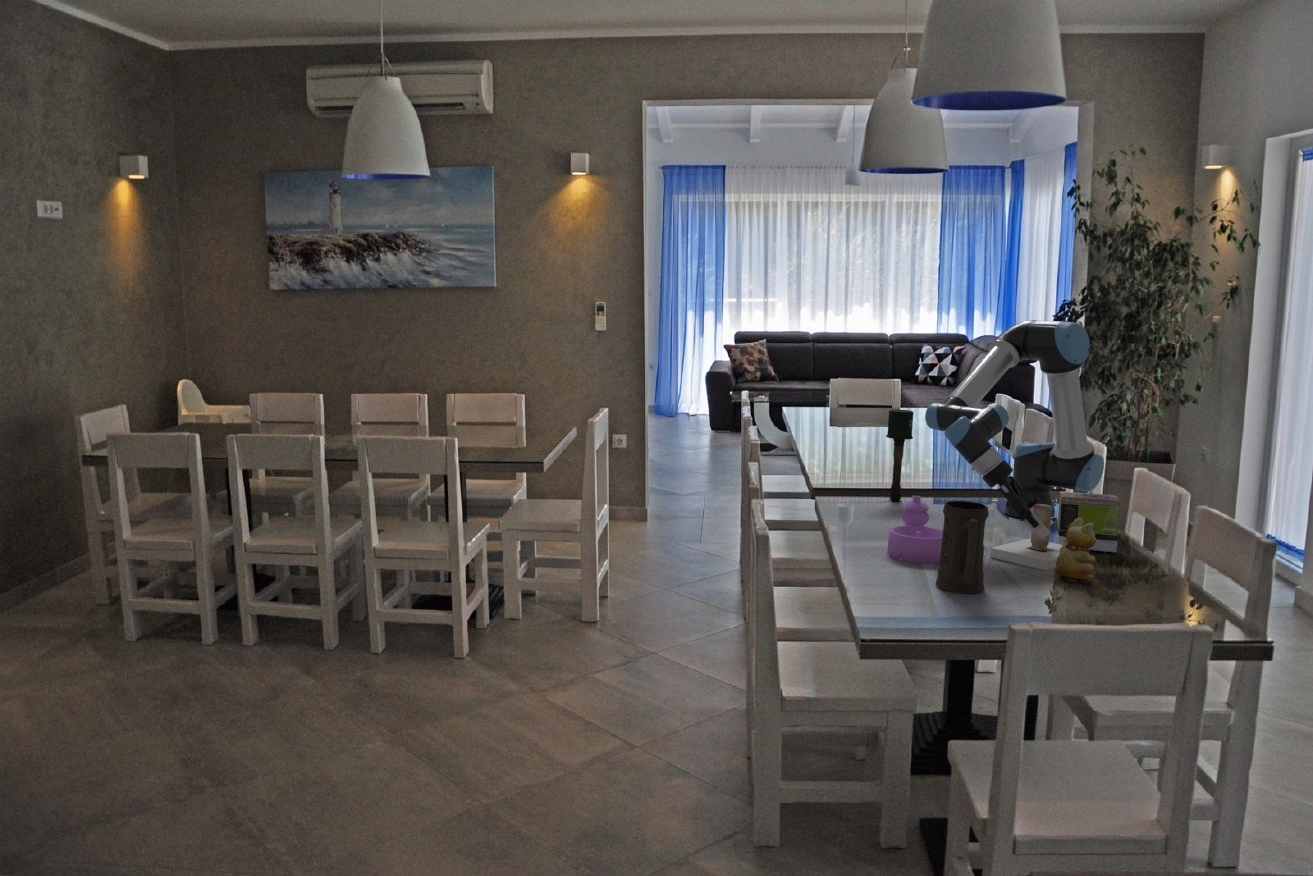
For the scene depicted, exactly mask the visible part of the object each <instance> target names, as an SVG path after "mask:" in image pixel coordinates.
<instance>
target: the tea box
mask: <svg viewBox="0 0 1313 876" xmlns="http://www.w3.org/2000/svg"><path fill="white" fill-rule="evenodd" d="M1057 512H1058V513H1057V525H1056V544H1061V545H1063V544H1064V542H1065V540H1066V538H1067V537H1066V534H1067V531H1068V528H1069V525H1070V524H1071V523H1072V522H1074V520H1075V519H1077V518H1082V519H1083V526H1084V525H1086V524H1088V523H1093V524H1094V528H1093V530H1092V531H1094V533H1095V538H1096V543H1095V544H1094V546H1093V547H1091V548H1089V549H1096V550H1106V551H1113V552H1118V551H1117V550H1118V540H1119V539H1118V538H1119V529H1120V528H1119V525H1120V515H1121V501H1120V499H1119V497H1118V496H1117V495H1115V494H1103V493H1101V494H1100V493H1089V492H1078V491H1075V492H1074V491H1061V490H1060V491H1059V498H1058V511H1057Z"/></svg>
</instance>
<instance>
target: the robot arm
mask: <svg viewBox="0 0 1313 876" xmlns="http://www.w3.org/2000/svg"><path fill="white" fill-rule="evenodd" d="M1090 343H1091V342H1090V337H1089V334H1088V332H1087V330H1086V328H1085V327H1084V326H1083V325H1082V324H1080V323H1078V322H1072V321H1071V322H1070V321H1067V320H1062V321H1058V320H1057V321H1056V320H1036V319H1029V320H1028V319H1027V320H1023V321H1021V322H1018V323H1016V324H1013V325H1011V326H1010V327H1008V328H1007V329H1005V330H1004V331H1003V332H1001V333H1000V334H999V335H998V336H997V337H995V339H994V340H993V341H992V342H991V343H990V344H989V346H988V351H987V353H986V354H984V356H983V357H982V358H981V360H980V361H978V362H977V364H976V365H975V366H974V367H973V369H972V370H970V372H969V373H968V374H967V375H966V376H965V378H963V380H962V381H961V382H960V383H959V384H958V385H957V386H956V387H955V389H954V390H953V391H952V392H951V393H950V395H949V396H947V398H946V399H945V400H944V401H943V402H942V403H941V402H934V403H931V404H930V405H928V407H927V408H926V411H925V415H924V420H925V422H926V426H927V427H928V428H930V429H931V430H937V431H940V432H944V436H945V437H946V438H947V439H946V440H948V442H950V444H951V446H952V447H954V449H955V450H956V451H957V452H958V453H959V454H960V456H961V457H963V458H964V460H965V461H967V463H968V464H969V465H970V466H971V471H973V472H974V471H975V472H976V473H977V474H978V476H982V478H981V479H982V480H983V481H984V482H985V483H986V485H988V487H989V488H994V487H996V486H997V485H998V486H999V488H998V491H999V492H1001V494H1002V495H1003V496H1004V497H1005V499H1006V502H1005V504H1004V508H1003V513H1004V514H1005V513H1006V514H1008V515H1007V516H1009V515H1011V516H1010V517H1012V516H1014V517H1013V518H1017V517H1020V518H1018V519H1019V520H1020V521H1021V522H1023V521H1025V522H1026V524H1028V526H1029V527H1030V528H1031V530H1032V529H1033V530H1034V531H1035V532H1036V533H1037V535H1038V536H1039V537H1040V538H1041V539H1043V538H1045V537H1046V536H1047V535H1049V534H1051V530H1050V531H1049V530H1048V529H1047V528H1046V527H1045V525H1044V524H1043V523H1042V522H1041V521H1040V520H1039V519H1038V518H1037V516H1036V515H1035V514H1034V513H1033V511H1034V504H1045V505H1050V506H1052V513H1051V517H1054V516H1055V517H1056V509H1055V504H1054V500H1053V496H1052V487H1055V488H1061V489H1062V488H1063V489H1067V490H1073V491H1075V492H1078V491H1079V492H1084V493H1089V492H1092V491H1093V490H1095V488H1097V486H1099V483H1100V481H1101V480H1102V477H1103V474H1104V471H1105V469H1104V467H1105V461H1104V457H1103V456H1102V455H1100V454H1098V453H1095V450H1094V445H1093V443H1092V442H1091V441H1089V440H1088V438H1087V429H1086V421H1085V414H1084V406H1083V405H1084V404H1083V396H1082V391H1081V381H1080V374H1079V370H1080V369H1081V368H1082V367H1083V365H1084V362H1086V360H1087V359H1088V356H1089V354H1090V351H1089V349H1091V347H1090V346H1091V345H1090ZM1028 360H1029V361H1037V362H1039V369H1040V371H1041V372H1042V373H1044V374H1045V375H1046V377H1047V386H1048V392H1049V398H1050V399H1049V400H1050V401H1049V402H1050V406H1051V413H1052V421H1053V428H1054V429H1053V430H1054V437H1055V442H1056V444H1055V442H1025V443H1024V442H1023V443H1019V444H1018V445H1016V447H1015V451H1014V455H1013V467H1012V466H1011V465H1010V464H1009V463H1008V462H1007V460H1003V456H1002V455H1001V454H1000V452H999V451H998V450H997V449H996V448H995V447H994V446H993V445H992V444H991V443H990V442H989V441H990V440H992V438H994V437H995V436H997V435H998V434H999V433H1001V432H1002V431H1003V430H1004V428H1006V426H1008V424H1009V421H1010V416H1009V412H1008V411H1007V410H1006V408H1005V407H1004V406H1002V405H1001V404H999V403H996V402H995V403H994V402H993V403H992V402H991V403H990V404H988V405H985V406H984V407H983V408H980V407H976V406H977V405H978V404H979V403H980V402H981V401H982V400H983V399H984V398H985V396H986V395H987V394H988V393H989V392H990V391H991V390H992V389H993V387H994V386H995V385H996V384H997V383H998V382H999V380H1000V379H1001V378H1002V377H1003V376H1004V374H1005V373H1006V372H1007V371H1008V370H1009V369H1010V368H1014V367H1016V366H1017V365H1018V364H1019V362H1022V361H1028ZM1010 474H1012V475H1010ZM1006 514H1005V515H1006ZM1054 522H1055V521H1053V519H1051V524H1050V526H1052V525H1053V524H1054ZM1049 536H1050V535H1049Z"/></svg>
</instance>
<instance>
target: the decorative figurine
mask: <svg viewBox="0 0 1313 876" xmlns="http://www.w3.org/2000/svg"><path fill="white" fill-rule="evenodd" d="M1093 528H1094V524H1093V523H1088V524H1086V525H1084V526H1083V519H1082V518H1077V519H1075V520H1074V522H1072V523H1071V524H1070V525H1069V528H1068V531H1067V534H1066V537H1067V538H1066V540H1065V542H1064V544H1063V545H1062V547H1061V549H1060V554H1059V556H1058V558H1057V561H1056V572H1055V573H1056V575H1058V576H1059V578H1062V579H1063V580H1065V581H1066V582H1069V583H1089V580H1092V579H1094V575H1093V571H1094V570H1095V567H1094V564H1096V561H1097V560H1096V557H1095V556H1094V555H1092V554H1091V553H1090V551H1089V548H1091V547H1093V546H1094V544H1095V543H1096V538H1095V533H1094V531H1092V530H1093Z"/></svg>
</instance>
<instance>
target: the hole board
mask: <svg viewBox="0 0 1313 876" xmlns="http://www.w3.org/2000/svg"><path fill="white" fill-rule="evenodd" d="M1031 547H1032V543H1031V537H1030V538H1026V539H1022V540H1017V541H1013V542H1008V543H1005V544H1000V545H997V546H993V547H990V552H989V553H990V554H989V557H990V558H992V559H997V560H1000V561H1005V562H1009V563H1013V564H1018V565H1022V566H1026V567H1031V568H1034V569H1039V570H1042V571H1052V570H1055V568H1056V561H1057V558H1058V556H1059V554H1060V549H1061V547H1062V545H1061V544H1057V542H1050V541H1049V545H1047V552H1044V553H1043V552H1039V551H1034V550H1031Z"/></svg>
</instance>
